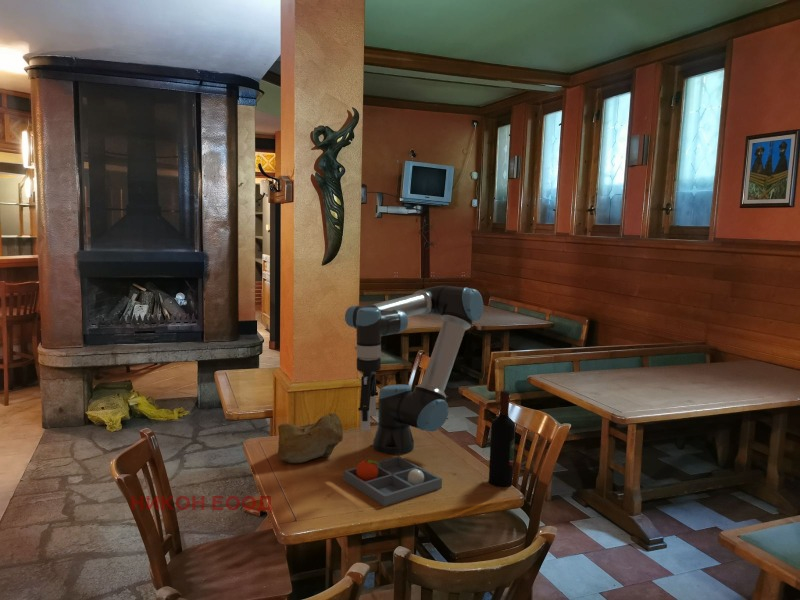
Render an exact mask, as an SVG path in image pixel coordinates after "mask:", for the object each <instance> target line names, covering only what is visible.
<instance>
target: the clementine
mask: <svg viewBox="0 0 800 600" xmlns="http://www.w3.org/2000/svg"><path fill="white" fill-rule="evenodd" d="M377 462H378V461H375V460H371V459H364V460H362V461H361V462H360V463H359V464H358V465H357V466H356V467H357V470H356V473H357V477H358V478H360V479H362V480H363V481H369V480H372V479H376V478H377V475H378V467H377V465H376V464H378V463H377ZM375 463H376V464H375ZM378 465H379V464H378ZM379 466H380V465H379ZM380 467H381V466H380ZM381 469H382V468H381Z"/></svg>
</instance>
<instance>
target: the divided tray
mask: <svg viewBox="0 0 800 600" xmlns="http://www.w3.org/2000/svg"><path fill="white" fill-rule="evenodd" d="M376 462H377V463H378V464H379V465H380V466H381V467H380V466H379V465H378V464H376V463H375V464H376V465H377V467H378V475H377V478H376V479H372V480H369V481H363V480H362V479H360V478H358V477H357V473H356V470H357V466H356V467H353V468H349V469H345V470H343V472H342V473H343V476H342V477H343V478H342V481H344V482H346V483H348V484H349V485H350V486H353V487H354V488H355V490H356V489H357V490H358V491H359V492H361V493H363V494H364V495H365V496H367V497H369V498H371V499H372V500H373V501H375V502H376V503H378V504H379V505H381V506H383V507H387V506H390V505H394V504H397V503H399V502H403V501H407V500H409V499H412V498H416V497H418V496H421V495H424V494H428V493H431V492H433V491H437V490H440V489H442V488H443V478H442V477H440V476H438V475H436V474H434V473H433V472H430V471H428V470H427V469H425V468H423V467H420V466H418V465H416V464H415V463H413V462H411V461H409V460H407V459H405V458H403V457H401V456H400V455H398V456H394V457H390V458H387V459H383V460H379V461H376ZM381 468H382V469H381ZM413 469H418V470H420V471H422V472H423V474H424V482H423V483H421V484H417V485H412V484H410V483H409V482H408V474H409V472H410V471H411V470H413Z"/></svg>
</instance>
